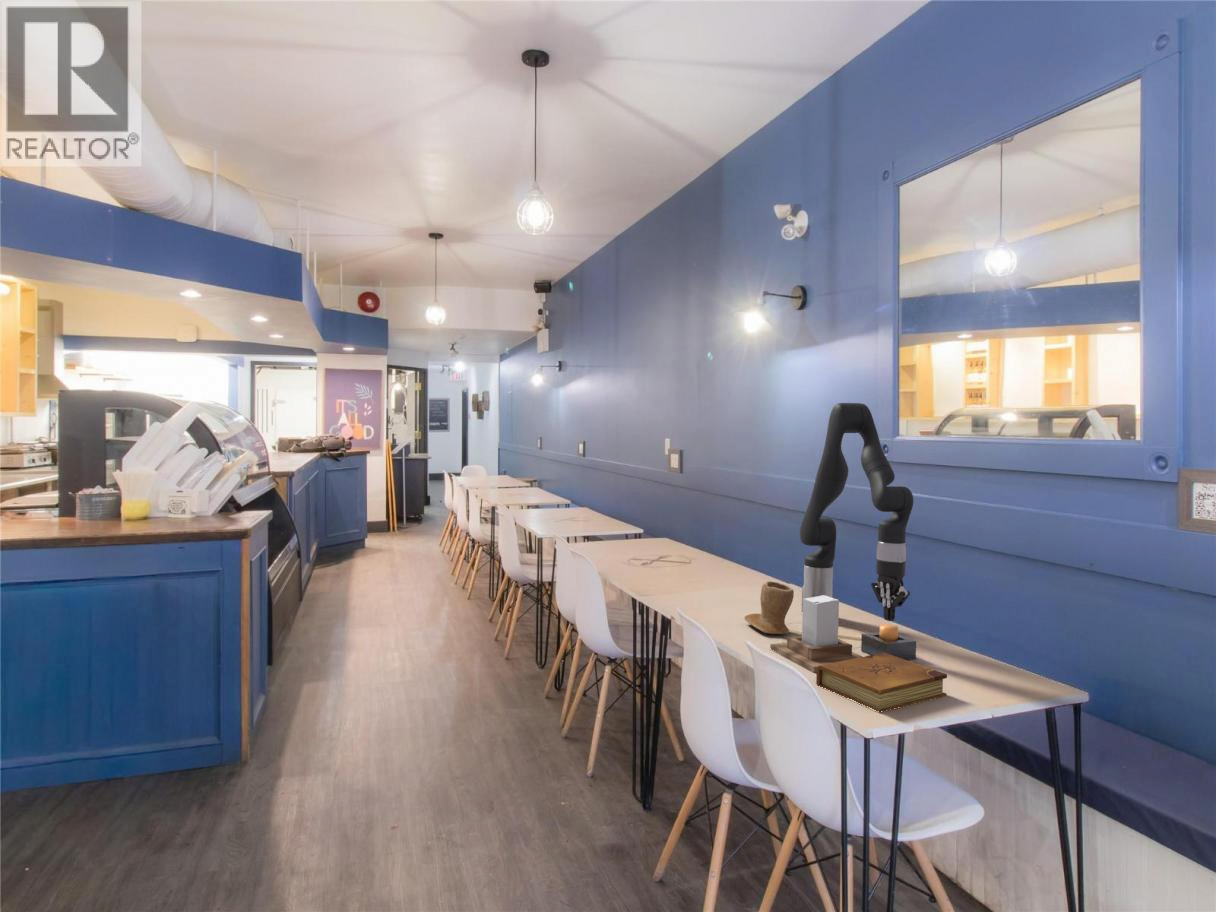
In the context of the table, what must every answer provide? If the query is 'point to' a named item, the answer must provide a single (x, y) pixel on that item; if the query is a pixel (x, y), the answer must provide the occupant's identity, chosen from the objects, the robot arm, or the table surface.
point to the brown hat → (772, 608)
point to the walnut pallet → (814, 653)
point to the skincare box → (820, 621)
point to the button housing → (889, 646)
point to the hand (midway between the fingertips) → (889, 620)
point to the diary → (881, 681)
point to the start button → (888, 632)
